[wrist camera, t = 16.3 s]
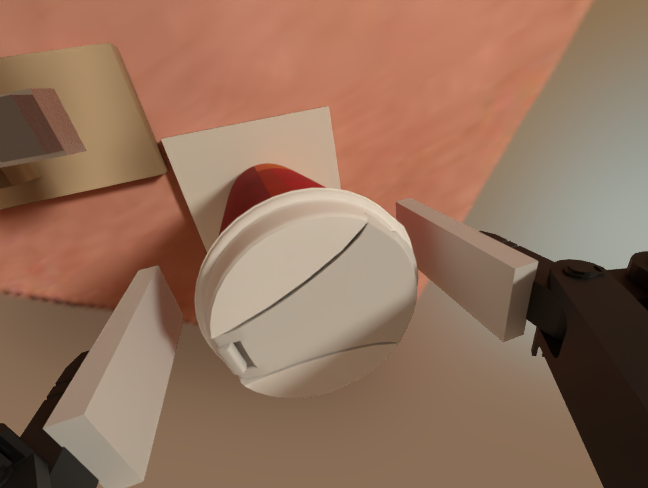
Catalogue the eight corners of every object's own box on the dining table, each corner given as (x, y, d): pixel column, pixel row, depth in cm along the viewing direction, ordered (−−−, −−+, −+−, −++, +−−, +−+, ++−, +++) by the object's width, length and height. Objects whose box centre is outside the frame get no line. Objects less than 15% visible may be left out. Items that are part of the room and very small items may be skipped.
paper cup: (241, 264, 22) (258, 442, 10) (191, 170, 19) (125, 273, 7) (332, 225, 23) (446, 345, 11) (301, 130, 20) (419, 153, 8)
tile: (219, 278, 24) (219, 283, 23) (163, 138, 19) (160, 139, 18) (345, 242, 25) (348, 246, 25) (325, 106, 20) (328, 106, 20)
